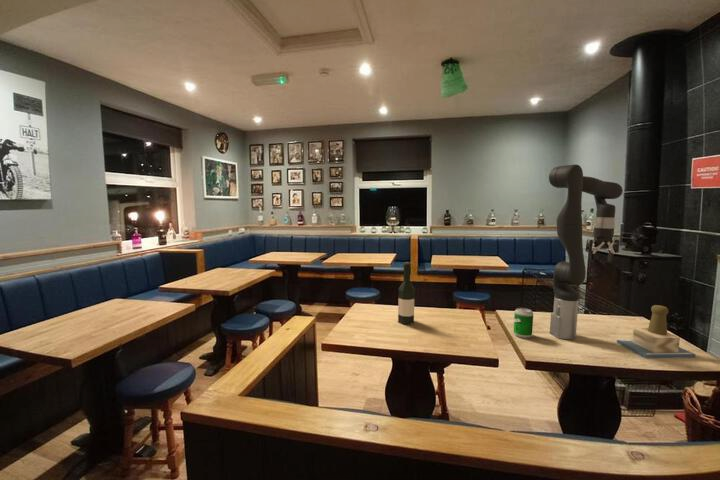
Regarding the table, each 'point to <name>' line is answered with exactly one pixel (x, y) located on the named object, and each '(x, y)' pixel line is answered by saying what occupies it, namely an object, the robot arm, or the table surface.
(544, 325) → the table surface
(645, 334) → the maple pedestal
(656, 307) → the cork
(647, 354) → the board
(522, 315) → the soda can
